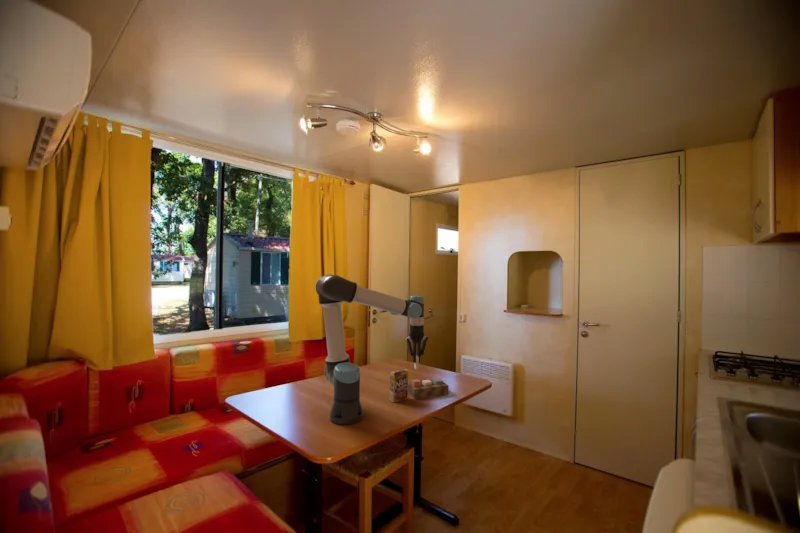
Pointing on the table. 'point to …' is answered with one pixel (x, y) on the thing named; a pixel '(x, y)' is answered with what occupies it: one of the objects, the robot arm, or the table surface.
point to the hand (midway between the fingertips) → (416, 368)
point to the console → (428, 390)
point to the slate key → (437, 381)
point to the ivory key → (426, 382)
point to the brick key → (416, 383)
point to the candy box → (398, 385)
